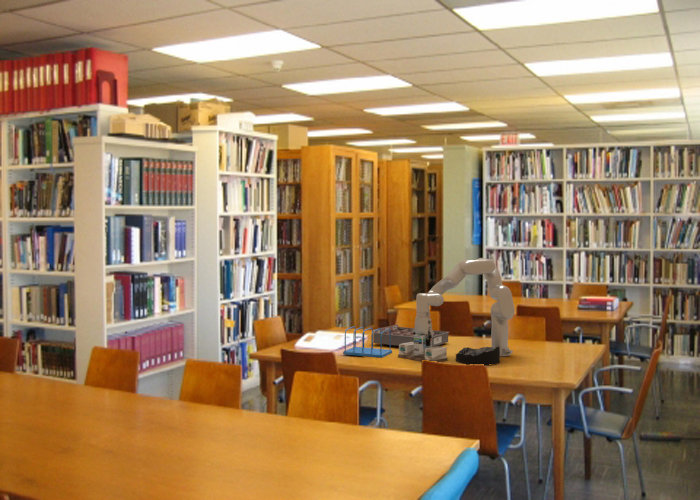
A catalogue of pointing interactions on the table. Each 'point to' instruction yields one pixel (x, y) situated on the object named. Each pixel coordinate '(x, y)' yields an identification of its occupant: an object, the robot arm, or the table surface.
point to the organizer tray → (405, 336)
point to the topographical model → (479, 355)
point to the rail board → (430, 354)
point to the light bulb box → (421, 343)
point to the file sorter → (367, 351)
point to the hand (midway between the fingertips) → (422, 344)
